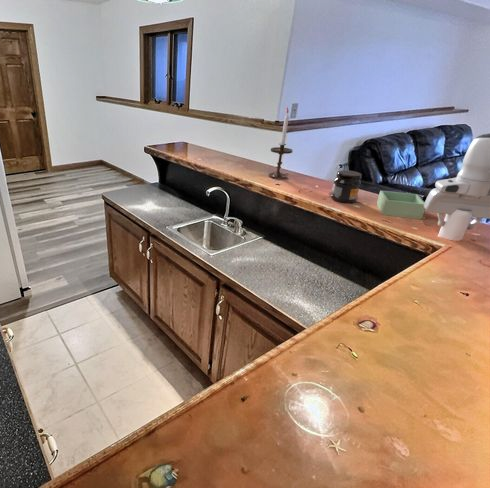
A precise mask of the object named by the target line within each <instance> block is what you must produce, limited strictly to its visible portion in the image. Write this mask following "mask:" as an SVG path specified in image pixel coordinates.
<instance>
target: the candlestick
mask: <svg viewBox="0 0 490 488" xmlns="http://www.w3.org/2000/svg"><path fill="white" fill-rule="evenodd" d="M289 119H290V117H289V108H288V106H287V107H286V114H285V116H284V119H283V120H284V121H283V127H282V132H281V139H280V143H278V145H279V146H278V147H271V148H270V152H271V153H274V154H278V155H279V156H278V161H276V164H277V166H276V167H275V168H276V171H275V172H270V173H268V177H269V176H270V177H269V178H271V177H274V178H285V177H286V178H287V174H284V173H282V172H281V171H280V170H281V168H282V165H283V161H282V158H283V155H288V154H292V153H293V149H292V148H288V147H285V146H287V144H286V138H287V137H286V136H287V131H288V124H289ZM274 178H273V179H274ZM286 178H285V179H286Z"/></svg>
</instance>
